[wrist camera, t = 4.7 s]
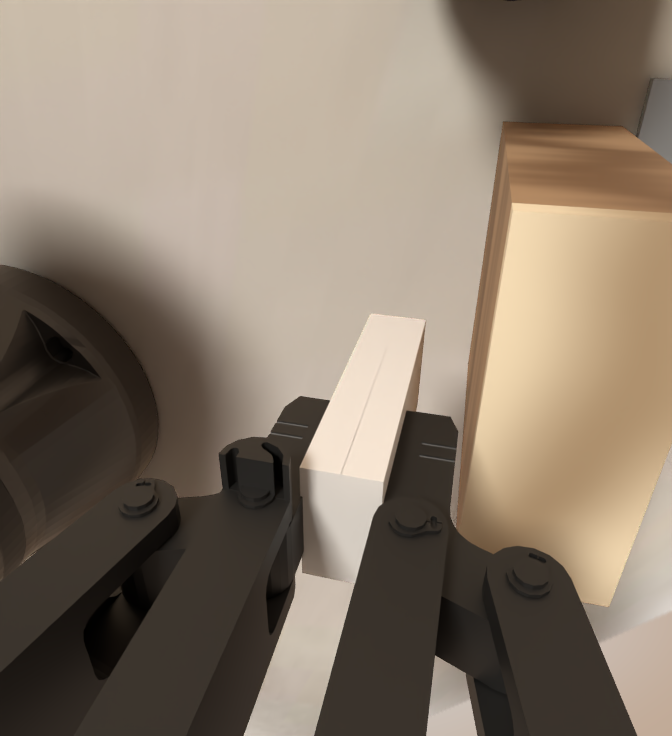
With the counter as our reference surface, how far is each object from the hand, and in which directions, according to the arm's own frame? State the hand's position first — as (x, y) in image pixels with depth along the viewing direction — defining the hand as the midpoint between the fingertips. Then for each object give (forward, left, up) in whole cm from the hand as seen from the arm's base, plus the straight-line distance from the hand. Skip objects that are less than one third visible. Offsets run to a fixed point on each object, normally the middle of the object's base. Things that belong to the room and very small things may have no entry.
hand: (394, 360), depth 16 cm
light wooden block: (+4, 0, -9) cm, 10 cm away
